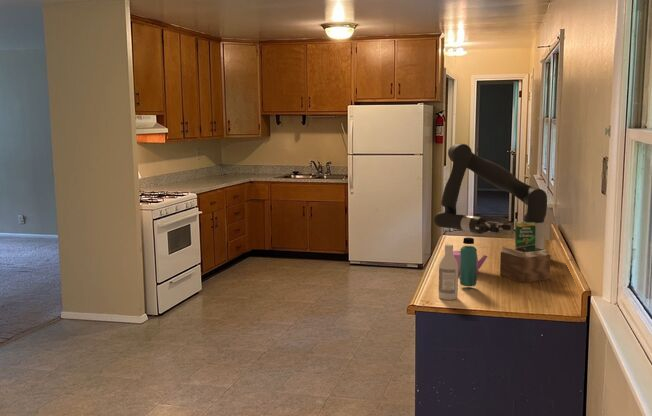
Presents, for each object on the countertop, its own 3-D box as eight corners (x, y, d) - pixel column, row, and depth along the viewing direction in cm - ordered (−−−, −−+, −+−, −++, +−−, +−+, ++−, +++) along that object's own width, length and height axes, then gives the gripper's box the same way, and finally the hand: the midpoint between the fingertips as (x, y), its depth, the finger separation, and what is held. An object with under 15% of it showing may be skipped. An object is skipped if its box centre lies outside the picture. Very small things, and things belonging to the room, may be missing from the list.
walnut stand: (525, 271, 275) (526, 244, 274) (549, 278, 263) (550, 250, 261) (499, 275, 269) (500, 247, 268) (522, 282, 257) (524, 253, 255)
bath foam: (444, 294, 241) (445, 242, 238) (460, 297, 236) (462, 244, 233) (434, 298, 235) (435, 245, 233) (451, 301, 231) (452, 247, 228)
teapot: (486, 270, 278) (486, 247, 277) (487, 276, 268) (488, 252, 267) (444, 269, 281) (444, 246, 280) (444, 274, 271) (444, 251, 270)
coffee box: (514, 253, 264) (516, 222, 262) (514, 252, 267) (515, 221, 265) (535, 254, 262) (536, 223, 261) (534, 253, 265) (535, 222, 263)
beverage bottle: (476, 290, 245) (478, 239, 243) (459, 289, 247) (460, 239, 244) (476, 286, 252) (477, 236, 249) (459, 285, 253) (460, 236, 250)
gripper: (463, 217, 279) (495, 222, 266) (483, 214, 288) (514, 218, 275) (463, 234, 280) (494, 239, 267) (483, 230, 289) (514, 235, 276)
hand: (504, 229), depth 271 cm, fingers open, 8 cm apart
